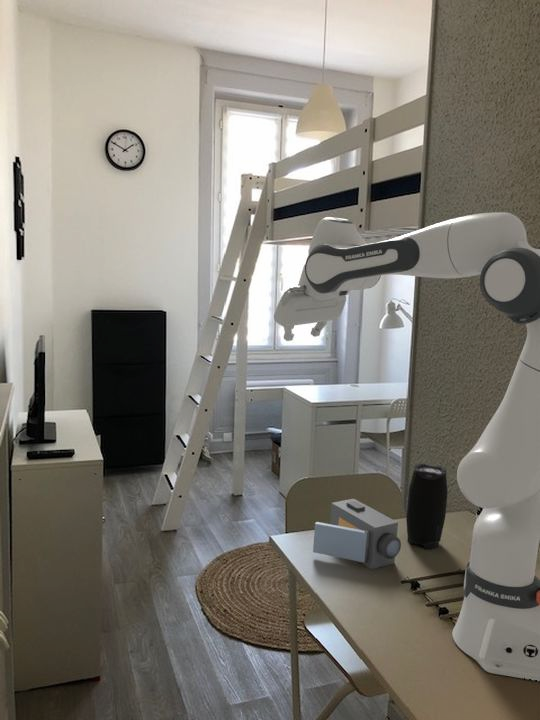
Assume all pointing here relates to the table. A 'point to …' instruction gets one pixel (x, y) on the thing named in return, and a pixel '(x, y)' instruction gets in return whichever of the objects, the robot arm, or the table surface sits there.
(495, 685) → the table surface
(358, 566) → the table surface
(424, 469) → the portable speaker
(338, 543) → the side panel
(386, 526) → the camcorder body
